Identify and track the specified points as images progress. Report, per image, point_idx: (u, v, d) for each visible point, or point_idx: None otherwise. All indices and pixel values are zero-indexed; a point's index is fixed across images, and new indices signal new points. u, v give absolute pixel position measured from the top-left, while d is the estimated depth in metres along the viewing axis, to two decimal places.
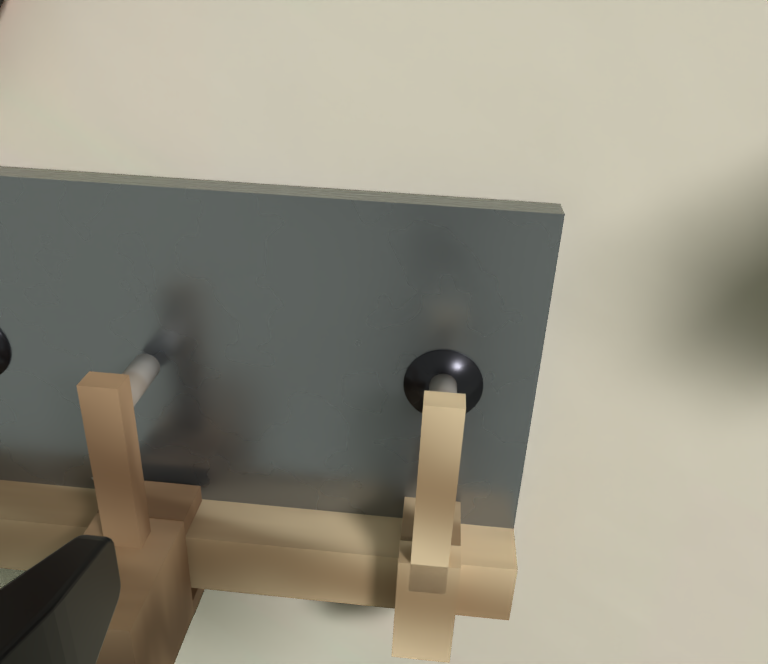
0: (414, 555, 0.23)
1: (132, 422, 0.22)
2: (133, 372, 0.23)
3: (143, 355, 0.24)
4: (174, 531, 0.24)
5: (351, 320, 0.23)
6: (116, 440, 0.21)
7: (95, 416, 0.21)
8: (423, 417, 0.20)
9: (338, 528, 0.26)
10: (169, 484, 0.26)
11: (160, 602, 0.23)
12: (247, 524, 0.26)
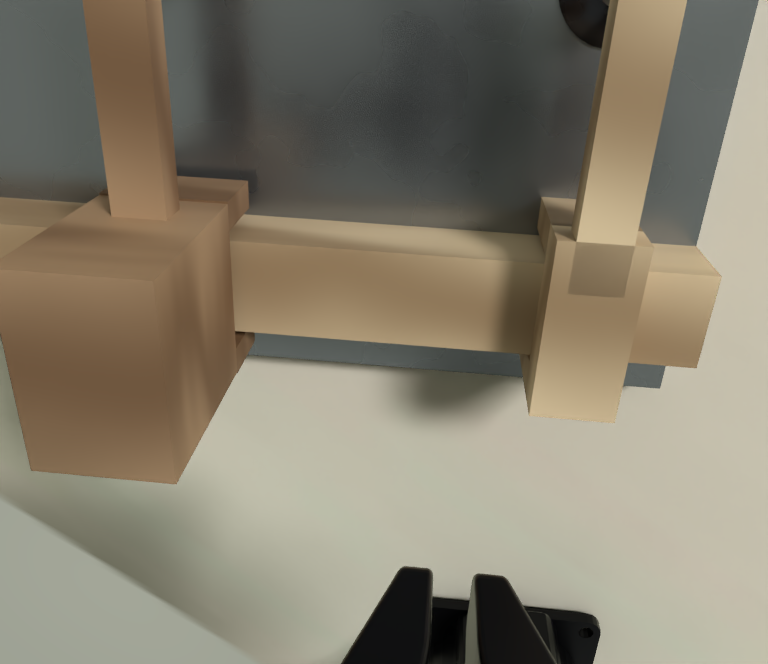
0: (584, 225, 0.15)
1: None
2: None
3: None
4: (215, 210, 0.16)
5: None
6: (130, 0, 0.13)
7: None
8: None
9: (447, 239, 0.18)
10: (203, 180, 0.18)
11: (197, 292, 0.15)
12: (316, 233, 0.18)
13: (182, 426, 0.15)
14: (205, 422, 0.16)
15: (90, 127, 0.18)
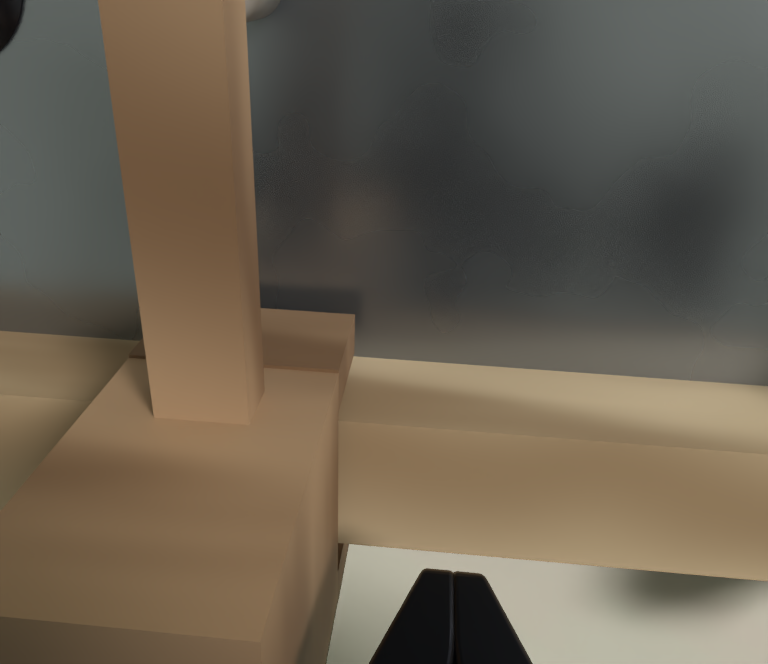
0: None
1: (241, 29, 0.07)
2: None
3: None
4: (322, 391, 0.10)
5: None
6: (197, 61, 0.07)
7: None
8: None
9: (766, 412, 0.11)
10: (285, 313, 0.12)
11: (308, 562, 0.08)
12: (560, 405, 0.11)
13: None
14: None
15: None
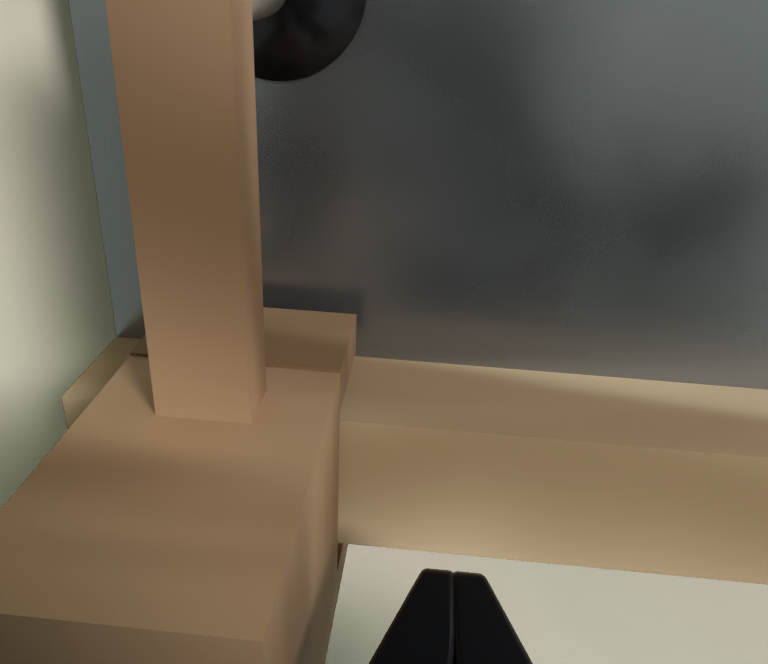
0: None
1: (249, 28, 0.07)
2: None
3: None
4: (324, 390, 0.10)
5: None
6: (203, 58, 0.07)
7: None
8: None
9: None
10: (286, 312, 0.12)
11: (308, 561, 0.08)
12: None
13: None
14: None
15: (502, 257, 0.12)
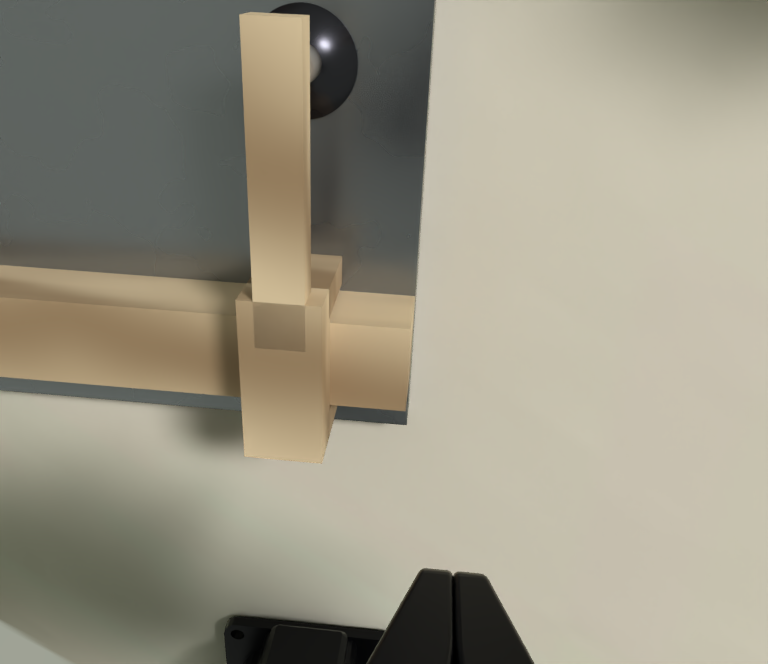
0: (256, 287, 0.16)
1: None
2: None
3: None
4: None
5: None
6: None
7: None
8: (242, 38, 0.14)
9: (178, 291, 0.19)
10: None
11: None
12: (56, 285, 0.19)
13: None
14: None
15: None
